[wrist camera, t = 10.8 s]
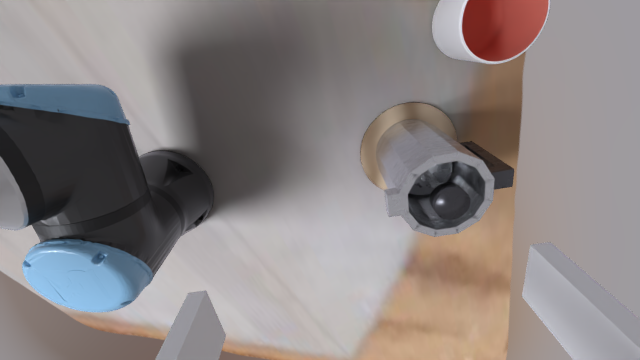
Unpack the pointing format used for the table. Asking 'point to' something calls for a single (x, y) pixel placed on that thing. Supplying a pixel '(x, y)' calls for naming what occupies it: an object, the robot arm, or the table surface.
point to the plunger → (442, 192)
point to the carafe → (423, 153)
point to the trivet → (391, 118)
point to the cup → (488, 28)
